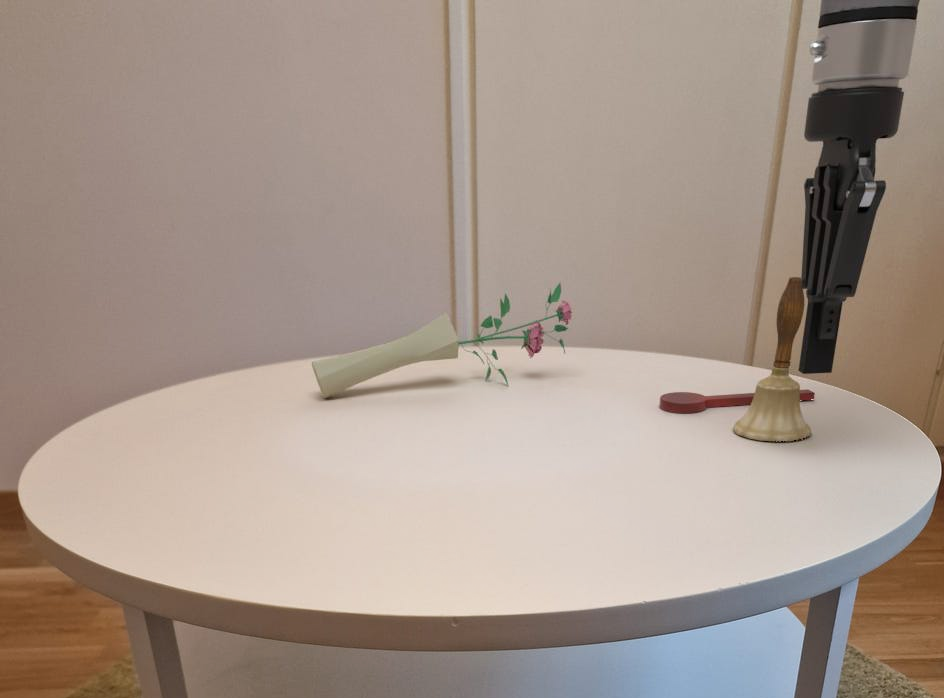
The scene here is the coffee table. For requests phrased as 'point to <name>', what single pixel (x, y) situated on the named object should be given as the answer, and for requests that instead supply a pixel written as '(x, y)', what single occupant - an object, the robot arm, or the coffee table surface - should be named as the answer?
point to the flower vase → (426, 349)
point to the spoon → (710, 401)
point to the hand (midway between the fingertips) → (814, 371)
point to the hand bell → (779, 381)
